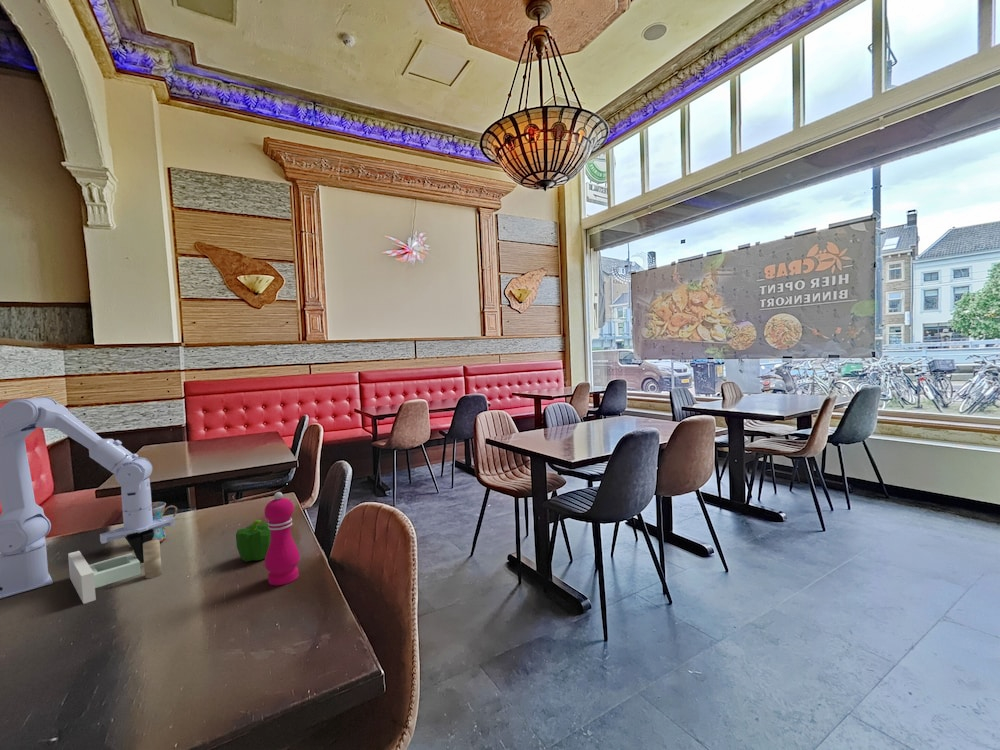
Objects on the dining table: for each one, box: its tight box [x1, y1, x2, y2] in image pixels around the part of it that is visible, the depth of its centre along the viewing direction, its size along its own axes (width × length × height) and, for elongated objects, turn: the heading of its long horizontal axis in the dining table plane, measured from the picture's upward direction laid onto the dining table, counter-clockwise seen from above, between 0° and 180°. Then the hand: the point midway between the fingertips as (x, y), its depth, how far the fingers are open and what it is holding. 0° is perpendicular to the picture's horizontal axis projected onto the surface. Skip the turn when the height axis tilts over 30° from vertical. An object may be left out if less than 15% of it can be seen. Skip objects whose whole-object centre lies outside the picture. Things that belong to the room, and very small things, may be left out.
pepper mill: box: [264, 491, 301, 586], centre depth 104 cm, size 7×7×20 cm
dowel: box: [143, 540, 163, 579], centre depth 109 cm, size 3×3×8 cm
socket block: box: [88, 552, 142, 589], centre depth 110 cm, size 9×9×3 cm
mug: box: [128, 501, 178, 547], centre depth 132 cm, size 12×9×11 cm
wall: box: [67, 550, 97, 605], centre depth 104 cm, size 2×20×6 cm, turn 49°
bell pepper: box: [235, 519, 271, 563], centre depth 117 cm, size 8×8×10 cm
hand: (141, 562), depth 114 cm, fingers closed
